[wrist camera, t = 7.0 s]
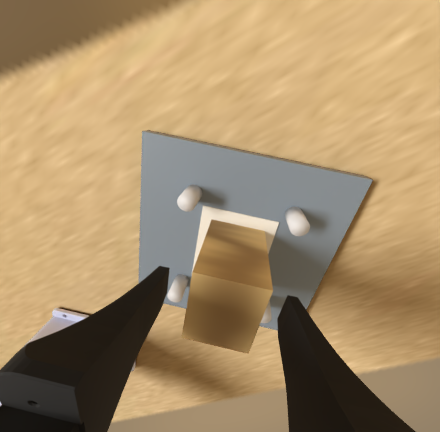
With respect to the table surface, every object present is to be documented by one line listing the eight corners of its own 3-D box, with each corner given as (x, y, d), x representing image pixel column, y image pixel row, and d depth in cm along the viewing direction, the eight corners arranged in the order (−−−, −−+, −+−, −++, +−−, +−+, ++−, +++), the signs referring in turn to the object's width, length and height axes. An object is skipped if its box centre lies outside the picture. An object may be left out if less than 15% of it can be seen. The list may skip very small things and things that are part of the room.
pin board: (143, 289, 21) (127, 314, 19) (148, 130, 15) (126, 133, 12) (291, 324, 21) (298, 355, 18) (365, 176, 14) (392, 189, 12)
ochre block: (201, 271, 18) (181, 337, 13) (211, 219, 16) (192, 271, 10) (248, 282, 18) (248, 353, 12) (264, 231, 16) (273, 290, 10)
